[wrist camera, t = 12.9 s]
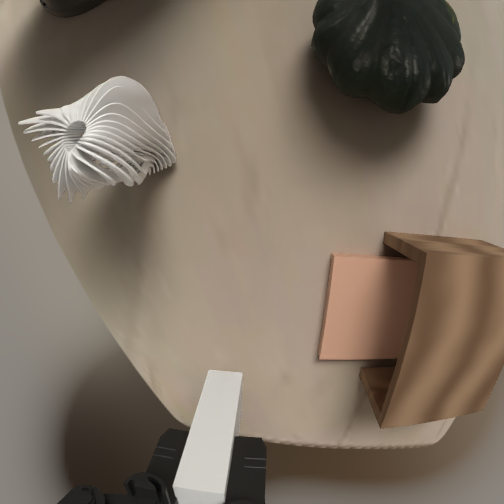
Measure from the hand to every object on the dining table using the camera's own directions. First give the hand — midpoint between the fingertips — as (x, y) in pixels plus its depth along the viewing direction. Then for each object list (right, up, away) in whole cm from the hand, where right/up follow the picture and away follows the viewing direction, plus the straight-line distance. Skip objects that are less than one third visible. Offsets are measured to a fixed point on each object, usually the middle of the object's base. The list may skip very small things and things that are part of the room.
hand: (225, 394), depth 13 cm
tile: (+18, 0, +20) cm, 27 cm away
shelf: (+22, 0, +20) cm, 30 cm away
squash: (+14, +27, +14) cm, 34 cm away
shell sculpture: (-9, +17, +18) cm, 26 cm away
